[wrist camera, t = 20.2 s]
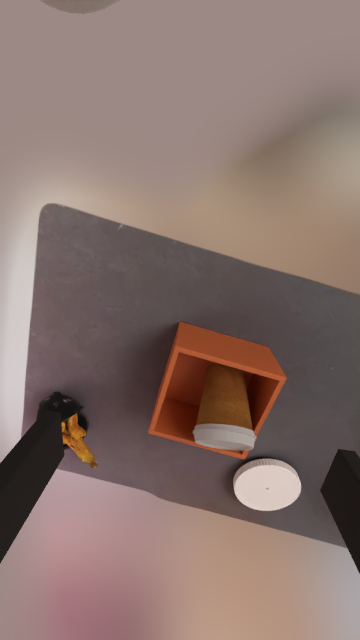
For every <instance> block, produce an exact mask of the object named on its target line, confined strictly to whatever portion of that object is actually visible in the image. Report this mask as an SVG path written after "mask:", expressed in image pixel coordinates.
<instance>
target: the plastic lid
mask: <svg viewBox="0 0 360 640" xmlns="http://www.w3.org/2000/svg"><path fill="white" fill-rule="evenodd" d="M233 485H234V492H235V495H236V497H237V498H238V500H240V502H241V503H243V504H244V505H245V506H248V507H250V508H252V509H255V510H256V509H257V510H261V511H262V510H263V511H265V510H266V511H268V510H269V511H270V510H272V511H273V510H279V509H281V508H284V507H287V506H289V504H291V503H293V501H295V500H296V498H298V496H299V494H300V492H301V491H300V490H301V483H300V480H299V477H298V475H297V473H296V471H295V470H294V469H293V468H292V467H291V466H290V465H288V464H286V463H284V462H283V461H278V460H275V459H269V458H268V459H266V458H265V459H259V460H257V459H256V460H253V461H250V462H248V463H246V464H245V465H243V466H241V468H239V469H238V471H237V472H236V473H235V475H234V479H233Z"/></svg>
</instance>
